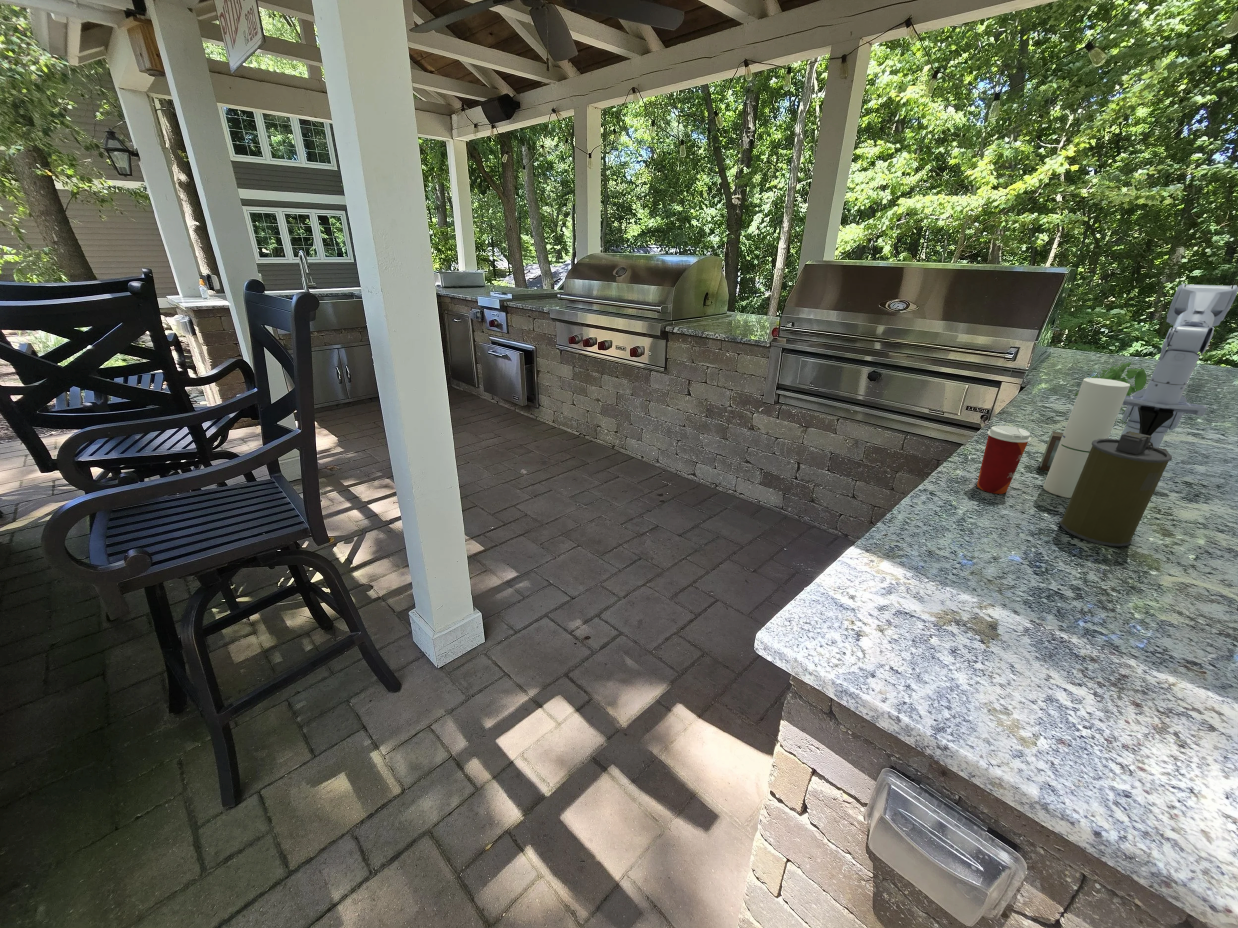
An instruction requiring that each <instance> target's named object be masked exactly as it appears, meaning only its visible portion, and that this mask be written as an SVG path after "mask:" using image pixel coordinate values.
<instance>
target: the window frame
mask: <svg viewBox="0 0 1238 928" xmlns="http://www.w3.org/2000/svg"><path fill="white" fill-rule="evenodd" d="M1063 433H1064V432H1063V431H1062V432H1061V431H1055V430H1051V433H1050V435H1049V437H1048V441H1047V444H1046V447H1045V449H1044V452H1043V454H1042V457H1041V460H1040V462H1039V470H1042V471H1046V472H1049V470H1050V467H1051V465H1052V462H1053V459H1054V457H1055V454H1056V451H1057V449H1058V446H1059V443H1060V441H1061V438H1062V435H1063ZM1159 449H1161V450H1164V451H1166V452H1168V453H1169V451H1168V450H1167V448H1162V447H1159Z"/></svg>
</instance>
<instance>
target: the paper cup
mask: <svg viewBox="0 0 1238 928" xmlns="http://www.w3.org/2000/svg"><path fill="white" fill-rule="evenodd" d="M1031 440H1032V438H1031V433H1030V431H1028V430H1025V429H1023V428H1020V427H1015V426H1009V425H994V426H991V428H990V429H989V430H988V431H987V439H986V443H985V449H984V452H983V456H982V461H981V465H980V469H979V473H978V478H977V482H976V487H977V488H978V489H980V490H981V491H984V492H987V493H989V494H990V493H991V494H997V495H1002V494H1003V495H1004V494H1006V493H1007V491H1008V490H1009V487H1010V485H1011V483H1012V481H1013V478H1014V476H1015V473H1016V471H1017V469H1018V467H1019V464H1020V462H1021V461H1022V460H1021V459H1022V457H1023V455H1024V453H1025V451H1026V449H1027V445H1028V443H1029V442H1031Z"/></svg>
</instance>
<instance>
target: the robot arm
mask: <svg viewBox="0 0 1238 928" xmlns="http://www.w3.org/2000/svg"><path fill="white" fill-rule="evenodd" d="M1237 295H1238V285H1236V284H1234V285H1218V284H1217V285H1215V284H1186V283H1182V284H1179V285H1178V287H1177V288H1176V291H1175V293H1174V295H1173V298H1172V300H1171V303H1170V305H1169V308H1168V312H1167V314H1166V323H1168V324H1170V325H1172V326H1173V327H1170V328H1169V329H1168V331H1167V334H1166V337H1165V338H1164V341H1163V343H1162V345H1161V350H1160V354H1159V356H1158V361H1157V363H1156V365H1155V368H1154V370H1153V373H1152V375H1151V377H1150V379H1149V382H1148V384H1147V386H1146V387H1145V388H1143V389H1142V390H1139V391H1137V392H1133V394H1132V395H1130V396H1126V397H1125V399H1124V402H1123V404H1122V406H1126V408H1125V409H1124V410H1125V412H1124V411H1123V412H1124V413H1123V414H1122V417H1121V421H1122V420H1123V421H1122V423H1124V422H1125V423H1126V424H1125V427H1124V428H1123V430H1122V431H1121V433H1120V436H1119V438H1118V439H1119V440H1120V438H1121V436H1122V434H1125V433H1127V432H1129V431H1131V432H1135V433H1140V434H1144V435H1148V436H1152V437H1151V440H1150V442H1151V443H1153V447H1157V448H1160V446H1161V444H1162V442H1163V440H1164V438H1165V436H1166V434H1167V433H1168V431H1173V430H1175V429H1177V428H1178V426H1179V424H1180V422H1181V421H1182V418H1183V415H1184V414H1191V415H1195V416H1200V417H1204V415H1205V414H1206V411H1207V410H1208V407H1207V406H1206V405H1203V404H1196V403H1190V402H1188V400H1187V397H1185V395H1183V394H1184V391H1185V389H1186V388H1187V387H1186V386H1187V385H1188V383H1189V380H1190V378H1191V376H1192V374H1193V372H1194V370H1195V367H1196V365H1197V363H1198V361H1199V359H1200V355H1201V356H1202V355H1204V353H1205V352H1206V351H1207V349H1208V347H1209V345H1210V342H1211V340H1212V338H1213V336H1214V331H1215V327H1217V326H1220V324H1221V322H1223V321H1224V319H1225V317H1226V315H1227V314H1228V312H1229V311H1230V309H1231V307H1232V305H1233V303H1234V301H1235V300H1236V298H1237ZM1199 353H1200V354H1199ZM1129 415H1130V417H1129Z"/></svg>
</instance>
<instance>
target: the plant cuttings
mask: <svg viewBox="0 0 1238 928" xmlns="http://www.w3.org/2000/svg"><path fill="white" fill-rule="evenodd" d="M1131 364H1132V362H1126V363H1122V362H1120V363H1117V364H1115V365H1113V366H1111V367H1110V368H1108V369H1101V370H1100V371H1101V372H1100V374H1099V375H1098V374H1095V375H1089V378H1101V379H1110V380H1116V381H1121V382H1125V383H1128V384H1130V387H1129V390H1128V392H1127V394H1126V396H1132V395H1131V394H1132V393H1135V392H1137V391H1139V390H1142V389H1144V388H1145V386H1146V384H1147V383H1146V382H1147V381H1148V380H1147V379H1148V378H1147V373H1146V371H1145V367H1144V368H1130V366H1131ZM1126 369H1127V370H1126ZM1125 370H1126V373H1125V374H1124V372H1125ZM1123 374H1124V376H1125V377H1124V376H1123ZM1132 379H1134V385H1133V386H1132V384H1131V383H1129V382H1128V381H1129V380H1132ZM1078 393H1079V391H1077V392H1076V393H1074V397H1077V396H1078ZM1120 410H1122V411H1123V412H1125V410H1126V409H1124V408H1123V406H1121V409H1120ZM1129 417H1130V415H1129ZM1117 418H1118V419H1120V421H1121V422H1123V420H1122V418H1120V417H1119V416H1117ZM1123 424H1125V425H1126V424H1127V422H1123Z"/></svg>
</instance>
